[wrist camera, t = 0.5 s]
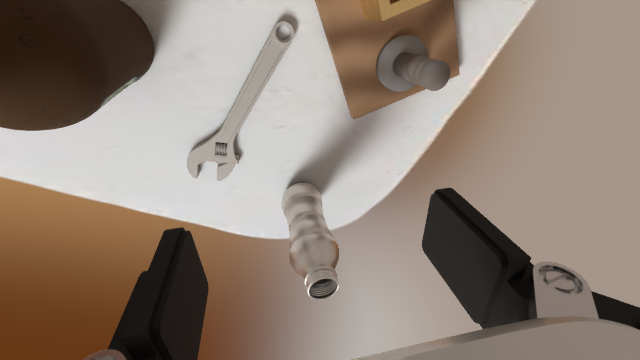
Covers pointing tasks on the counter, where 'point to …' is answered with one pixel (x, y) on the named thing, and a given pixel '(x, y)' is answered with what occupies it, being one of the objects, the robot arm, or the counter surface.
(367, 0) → the brass collar
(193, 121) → the counter surface
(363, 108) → the shaft board
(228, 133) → the adjustable wrench
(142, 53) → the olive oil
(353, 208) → the counter surface
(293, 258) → the plastic bottle
